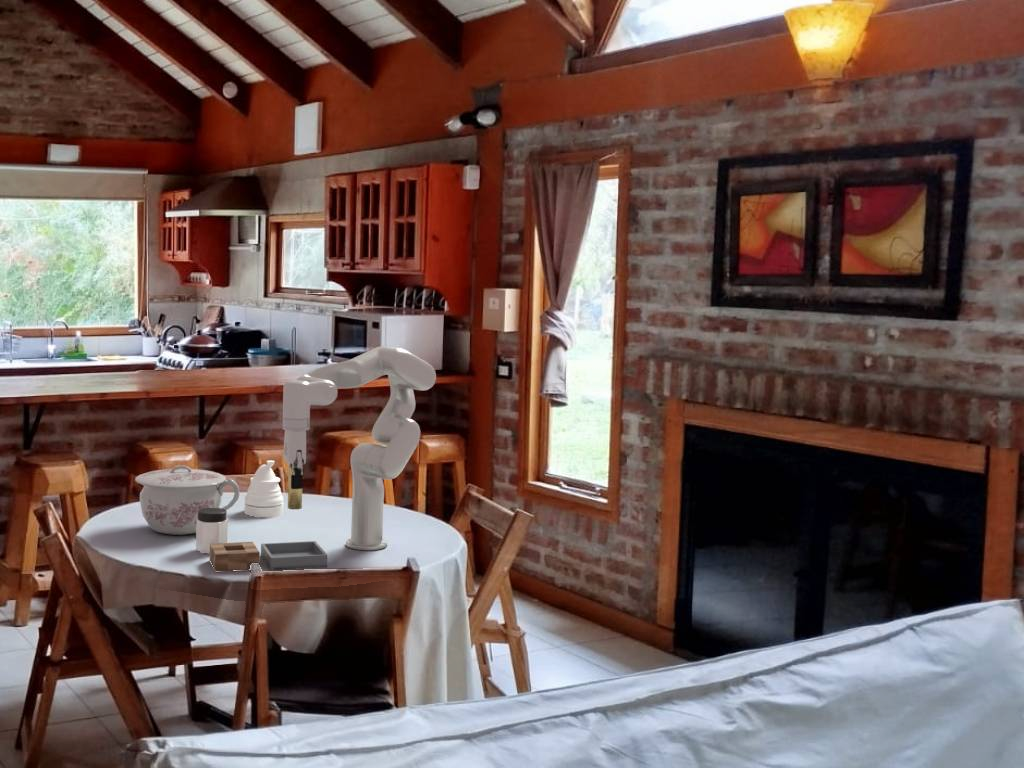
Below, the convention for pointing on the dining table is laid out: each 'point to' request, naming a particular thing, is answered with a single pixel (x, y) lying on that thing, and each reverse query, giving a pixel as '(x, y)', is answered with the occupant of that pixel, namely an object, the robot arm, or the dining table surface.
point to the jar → (211, 528)
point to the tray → (293, 555)
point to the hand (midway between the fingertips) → (295, 486)
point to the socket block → (233, 556)
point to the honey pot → (264, 494)
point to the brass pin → (293, 493)
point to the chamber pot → (181, 497)
